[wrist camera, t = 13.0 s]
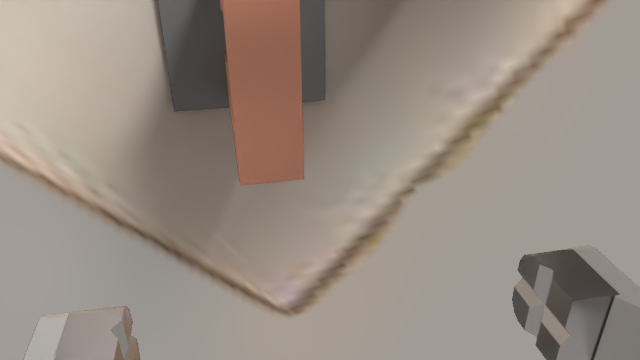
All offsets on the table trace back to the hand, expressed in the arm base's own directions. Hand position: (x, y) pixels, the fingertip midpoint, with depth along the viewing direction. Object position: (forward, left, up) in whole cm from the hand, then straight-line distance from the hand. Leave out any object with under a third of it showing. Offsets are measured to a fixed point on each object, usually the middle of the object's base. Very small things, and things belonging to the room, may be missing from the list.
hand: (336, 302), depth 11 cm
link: (0, 0, -26) cm, 26 cm away
